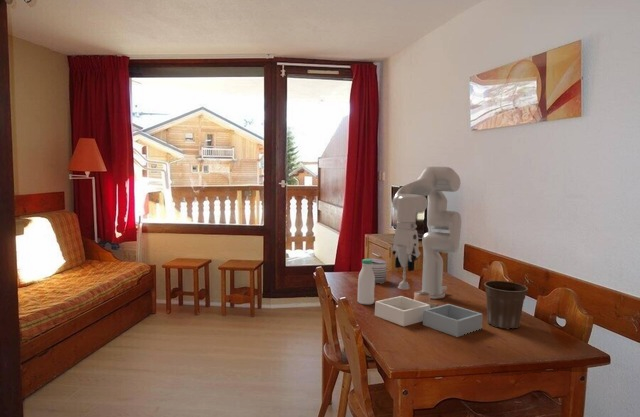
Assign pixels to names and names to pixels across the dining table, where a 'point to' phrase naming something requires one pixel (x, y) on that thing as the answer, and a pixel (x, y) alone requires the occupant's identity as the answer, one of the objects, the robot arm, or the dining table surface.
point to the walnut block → (432, 304)
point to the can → (379, 270)
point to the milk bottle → (366, 283)
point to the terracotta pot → (422, 297)
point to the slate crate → (452, 319)
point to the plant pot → (504, 303)
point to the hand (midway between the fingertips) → (404, 268)
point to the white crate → (401, 310)
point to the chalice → (404, 263)
